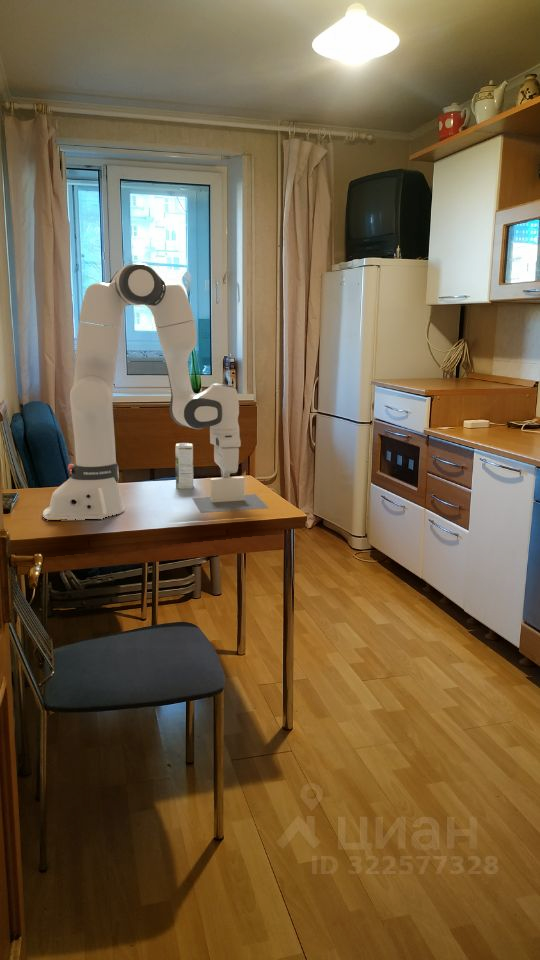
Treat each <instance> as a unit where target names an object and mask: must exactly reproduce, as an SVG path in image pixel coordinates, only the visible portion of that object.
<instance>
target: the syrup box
mask: <svg viewBox="0 0 540 960" xmlns="http://www.w3.org/2000/svg"><path fill="white" fill-rule="evenodd" d="M174 451H175V452H174V453H175V454H174V455H175V489H177V490H187V489H188V490H189V489H194V444H193V443H189V442H179V443H176V444H175V449H174Z"/></svg>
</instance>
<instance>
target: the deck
mask: <svg viewBox="0 0 540 960" xmlns="http://www.w3.org/2000/svg"><path fill="white" fill-rule="evenodd" d="M209 480H210V483H209V484H210V497H211V502H225V501H241V500H244V495H245V477H244V476H230V477H227V478H222V477H213V478H210V479H209Z"/></svg>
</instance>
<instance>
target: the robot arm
mask: <svg viewBox="0 0 540 960" xmlns="http://www.w3.org/2000/svg"><path fill="white" fill-rule="evenodd" d="M142 305H143V306H146V307H147V308H148V309H149V310H150V312H151V314H152V316H153V320H154V324H155V328H156V332H157V333H156V334H157V337H158V340H159V343H160V346H161V349H162V353H163V357H164V360H165V366H166V372H167V376H168V383H169V386H170V387H169V388H170V400H169V401H170V402H169V414H170V417H171V419H172V421H174V423H176V424H177V425H179V426H181V427H187V428H192V429H195V430H201V429H202V430H203V429H206V428H209V437H210V438H209V440H210V441H209V443H210V444H211V445H213V460H214V463H215V464H216V465H218V467H219V468H220V474H221V475H220V476H221V478H227V477H231V476H230V475H231V474H236V473H238V470H239V458H240V457H239V456H240V449H239V448H240V447H241V446H242V444H241V443H242V440H241V437H240V425H239V415H240V404H239V403H240V402H239V395H238V391H237V389H236V387H234V386H233V385H230V384H224V383H218V382H215V383H212V384H210V385H209V387H207V388H206V389H204V390H203V391H201V392H199V393H195V392H194V390H193V388H192V387H193V385H192V381H191V378H190V370H189V365H188V364H189V363H188V362H189V358H190V355H191V353H192V352H193V351H194V349H195V347H196V346H197V343H198V335H197V334H198V333H197V326H196V321H195V317H194V314H193V309H192V306H191V304H190V301H189V298H188V296H187V293H186V291H185V290H184V288H183V286H181V285H180V284H177V283H174V282H165V281H164V280H163V279H162V278H161V276H159V274H158V273H157V272H156V270H154V269H153V267H151V266H149V265H148V264H147V263H143V262H131V263H127V264H125V265H123V266H122V267H120V268H119V269H118V270H117V271H116V272H115V274H114V275H113V276H112V278H111V279H110V280H109V282H108V283H106V282H95V283H92V284H90V285H89V286H87V288H86V289H85V291H84V295H83V300H82V303H81V307H80V312H79V320H78V328H77V339H76V347H75V361H74V362H75V363H74V376H73V385H72V386H71V389H70V393H69V402H70V403H69V404H70V411H71V412H70V413H71V423H72V429H73V437H74V455H75V463H74V464H73V463H70V464H68V466H67V471H68V475H69V477H68V479H67V480H66V481H64V482H63V483H62V484H61V485H59V487H57V488H56V489H55V490H54V491H53V492H52V494H51V497H50V504H49V506H48V507H46V508H45V509H44V510H43V512H42V518H43V517H44V518H46V519H67V520H66V521H86V520H85V519H101V520H104V519H106V518H105V517H107V518H109V517H112V515H113V516H116V514H117V515H119V514H122V513H123V512H124V511H125V507H124V504H123V502H122V498H121V493H120V489H119V479H120V475H119V465H118V462H117V459H116V456H117V455H116V437H115V424H114V423H115V422H114V410H113V409H114V407H113V406H114V405H113V395H114V386H115V377H116V370H117V369H116V368H117V360H118V351H119V341H120V335H121V334H120V333H121V327H122V325H121V324H122V316H123V313H124V311H125V309H126V307H128V306H142ZM108 516H109V517H108ZM44 518H43V519H44ZM103 518H104V519H103ZM75 519H76V520H75Z"/></svg>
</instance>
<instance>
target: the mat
mask: <svg viewBox="0 0 540 960" xmlns="http://www.w3.org/2000/svg"><path fill="white" fill-rule="evenodd" d="M192 500H193V502H194V504H195V506H196V507H197V509H198V511H199V512H200V513H201V514H202V513H203V514H205V513H214V512H216V513H218V512H230V511H231V512H232V511H233V512H234V511H244V510H245V511H246V510H248V511H249V510H259V509H260V510H262V509H263V510H264V509H269V508H270V507H269V506H268V505H267V504H266V503H265V502H264V501H263V500H262V499H261V498H260V497H259V496H258V495H257V494H256V493H254V494H253V493H252V494H244V500H241V501H225V502H211V496H207V497H205V496H204V497H192Z"/></svg>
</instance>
